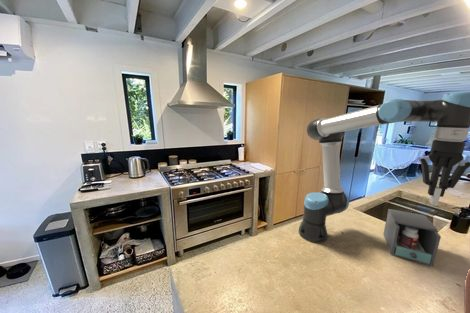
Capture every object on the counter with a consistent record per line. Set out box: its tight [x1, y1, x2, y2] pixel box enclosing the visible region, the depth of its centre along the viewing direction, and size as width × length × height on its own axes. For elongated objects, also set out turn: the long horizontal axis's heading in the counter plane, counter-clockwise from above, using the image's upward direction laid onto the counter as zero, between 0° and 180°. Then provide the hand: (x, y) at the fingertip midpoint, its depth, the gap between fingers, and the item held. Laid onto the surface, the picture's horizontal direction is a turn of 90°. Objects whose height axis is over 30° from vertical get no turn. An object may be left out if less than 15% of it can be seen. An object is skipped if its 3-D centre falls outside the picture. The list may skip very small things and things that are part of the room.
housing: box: [383, 208, 442, 267], centre depth 94 cm, size 18×15×16 cm
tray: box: [394, 234, 432, 264], centre depth 94 cm, size 18×12×4 cm, turn 152°
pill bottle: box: [399, 225, 419, 250], centre depth 93 cm, size 6×6×11 cm
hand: (433, 203), depth 70 cm, fingers closed
